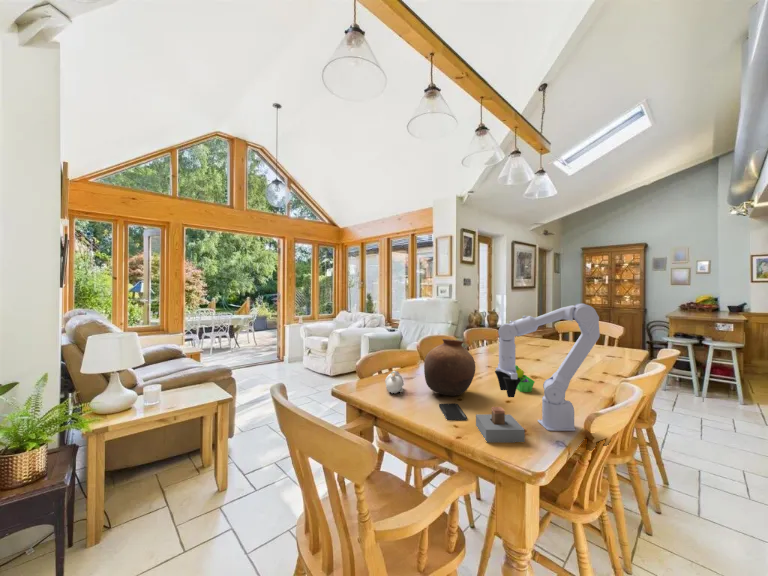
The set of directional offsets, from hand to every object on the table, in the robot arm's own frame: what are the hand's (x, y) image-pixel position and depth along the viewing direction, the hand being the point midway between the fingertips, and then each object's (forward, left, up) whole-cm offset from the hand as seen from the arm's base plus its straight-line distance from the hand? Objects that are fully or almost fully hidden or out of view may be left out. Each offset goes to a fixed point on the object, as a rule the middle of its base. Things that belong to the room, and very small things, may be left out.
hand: (507, 393), depth 120 cm
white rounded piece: (+41, -32, -10) cm, 53 cm away
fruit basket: (-19, -35, -10) cm, 41 cm away
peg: (+7, +12, -9) cm, 17 cm away
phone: (+19, -6, -10) cm, 22 cm away
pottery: (+16, -28, -10) cm, 34 cm away
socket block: (+7, +12, -9) cm, 17 cm away
